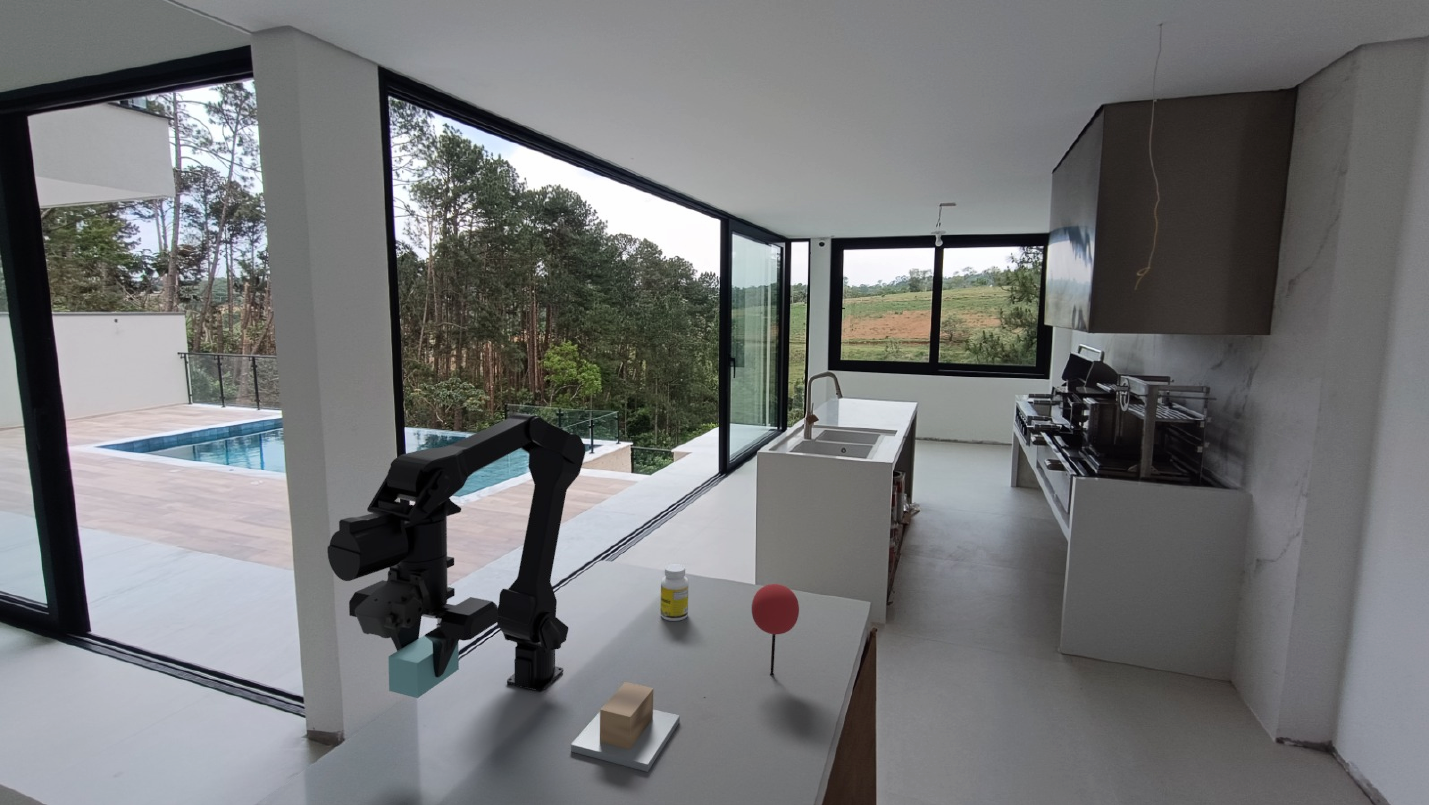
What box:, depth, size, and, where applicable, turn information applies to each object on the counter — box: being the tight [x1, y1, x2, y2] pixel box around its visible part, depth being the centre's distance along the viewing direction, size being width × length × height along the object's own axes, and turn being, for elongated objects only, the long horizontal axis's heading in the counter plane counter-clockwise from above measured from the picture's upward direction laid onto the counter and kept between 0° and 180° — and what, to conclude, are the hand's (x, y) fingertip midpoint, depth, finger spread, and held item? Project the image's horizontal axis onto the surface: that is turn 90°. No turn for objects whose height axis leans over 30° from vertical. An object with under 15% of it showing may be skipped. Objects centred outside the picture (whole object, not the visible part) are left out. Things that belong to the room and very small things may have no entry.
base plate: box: [570, 708, 681, 773], centre depth 86 cm, size 11×11×1 cm
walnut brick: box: [599, 681, 654, 750], centre depth 86 cm, size 7×4×4 cm, turn 161°
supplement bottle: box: [659, 563, 689, 622], centre depth 123 cm, size 5×5×10 cm
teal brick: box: [388, 634, 460, 699], centre depth 81 cm, size 7×4×4 cm, turn 162°
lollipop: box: [751, 583, 800, 676], centre depth 103 cm, size 8×8×15 cm
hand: (424, 672), depth 81 cm, fingers closed on teal brick, 4 cm apart
